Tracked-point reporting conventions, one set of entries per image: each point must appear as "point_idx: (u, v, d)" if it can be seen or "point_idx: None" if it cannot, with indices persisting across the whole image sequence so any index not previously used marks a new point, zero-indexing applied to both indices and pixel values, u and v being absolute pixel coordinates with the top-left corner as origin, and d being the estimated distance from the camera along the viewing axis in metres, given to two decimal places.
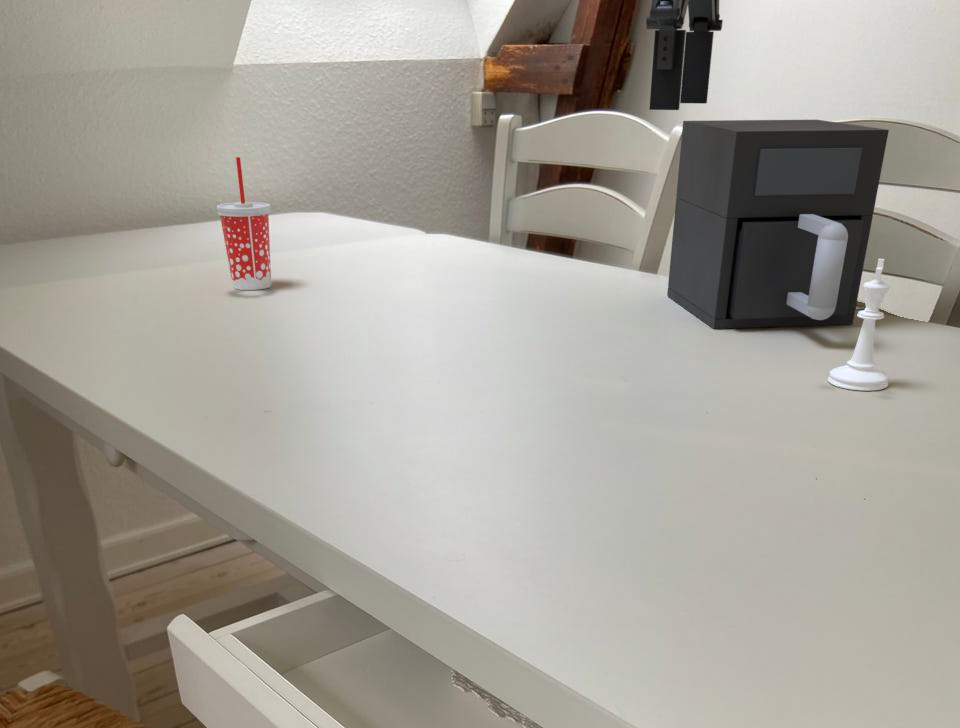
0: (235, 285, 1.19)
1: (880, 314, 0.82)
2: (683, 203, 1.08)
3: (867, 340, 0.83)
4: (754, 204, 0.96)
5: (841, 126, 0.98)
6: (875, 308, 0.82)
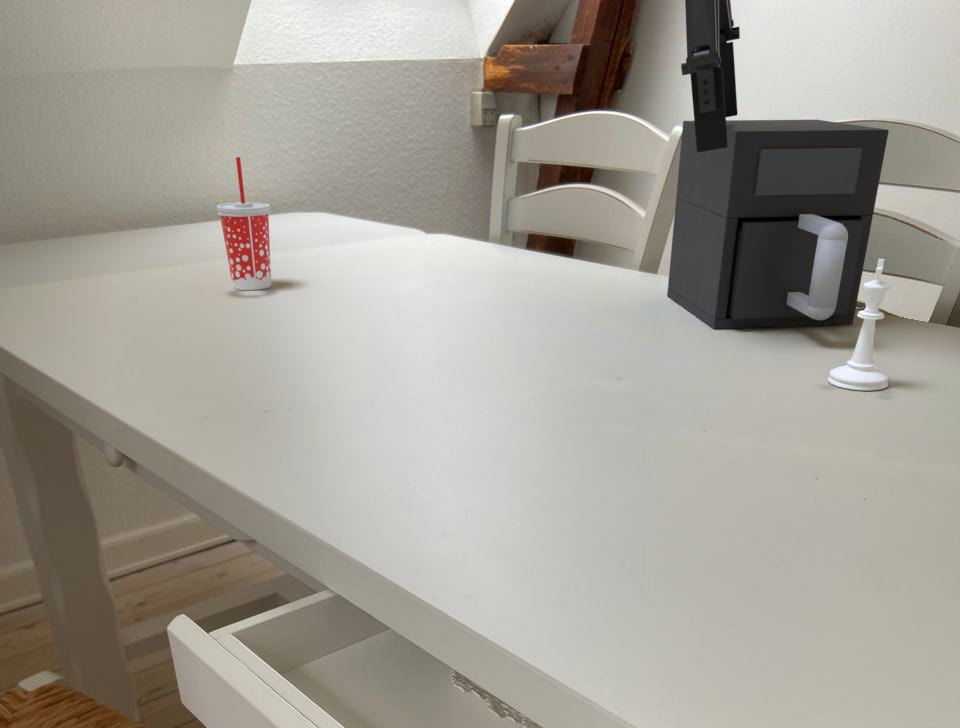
0: (235, 285, 1.19)
1: (880, 314, 0.82)
2: (683, 203, 1.08)
3: (867, 340, 0.83)
4: (754, 204, 0.96)
5: (841, 126, 0.98)
6: (875, 308, 0.82)
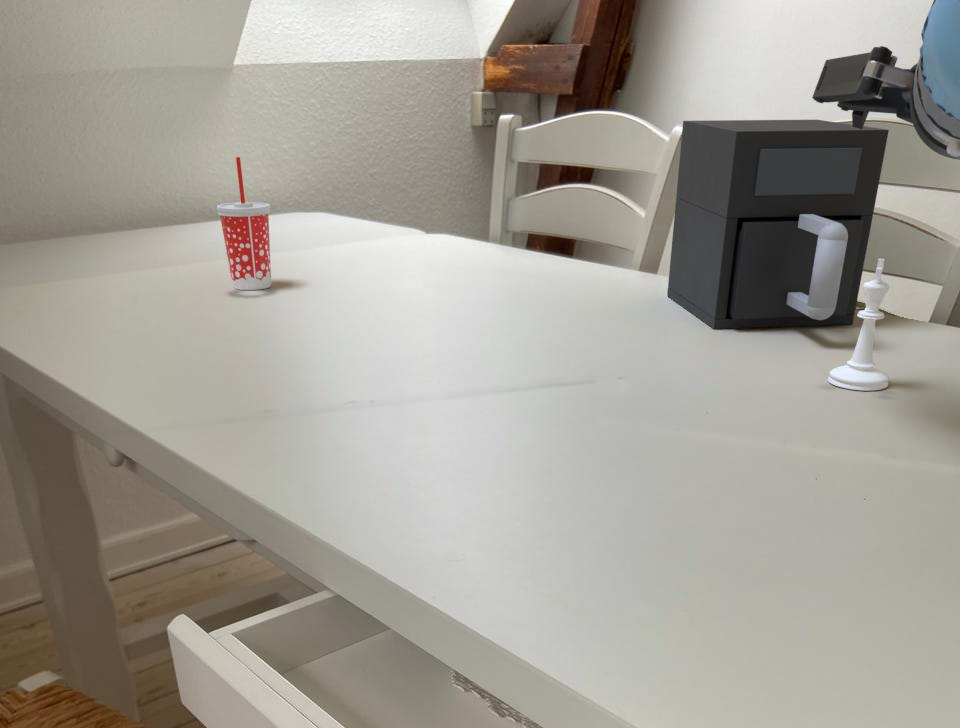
0: (235, 285, 1.19)
1: (880, 314, 0.82)
2: (683, 203, 1.08)
3: (867, 340, 0.83)
4: (754, 204, 0.96)
5: (841, 126, 0.98)
6: (875, 308, 0.82)
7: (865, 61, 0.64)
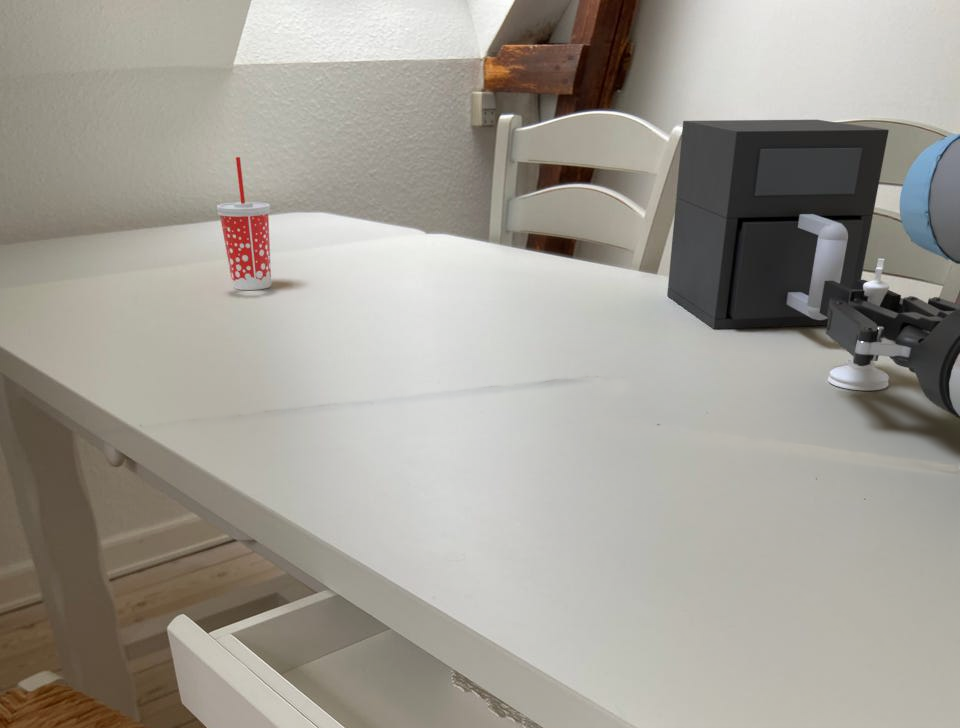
0: (235, 285, 1.19)
1: None
2: (683, 203, 1.08)
3: None
4: (754, 204, 0.96)
5: (841, 126, 0.98)
6: None
7: (857, 330, 0.74)
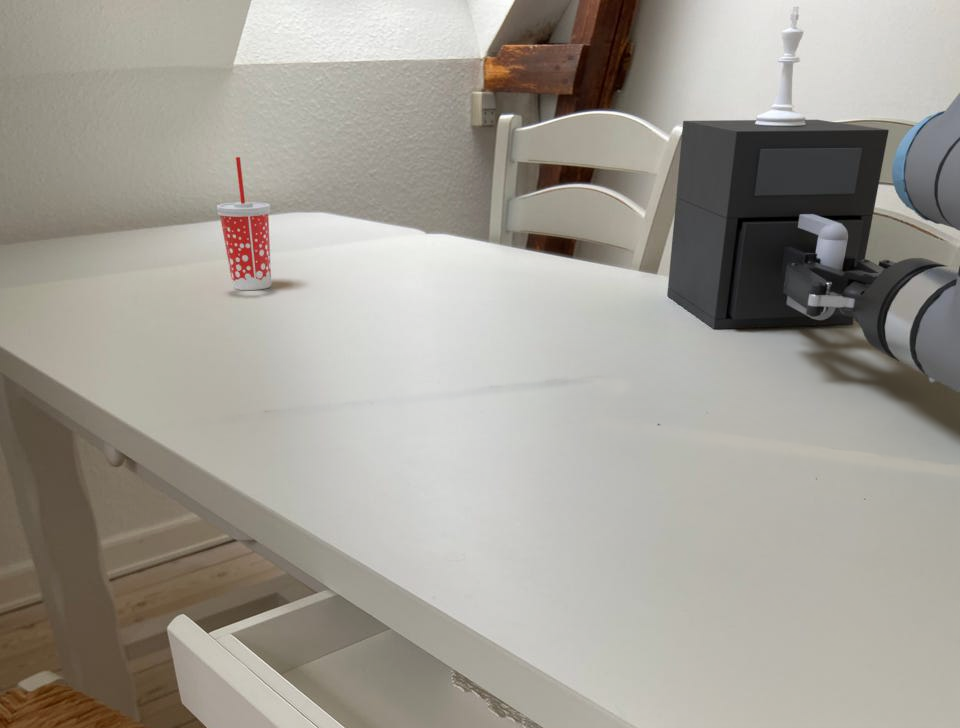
0: (235, 285, 1.19)
1: (796, 57, 0.97)
2: (683, 203, 1.08)
3: (786, 82, 0.98)
4: (754, 204, 0.96)
5: (841, 126, 0.98)
6: (792, 52, 0.97)
7: (809, 285, 0.84)
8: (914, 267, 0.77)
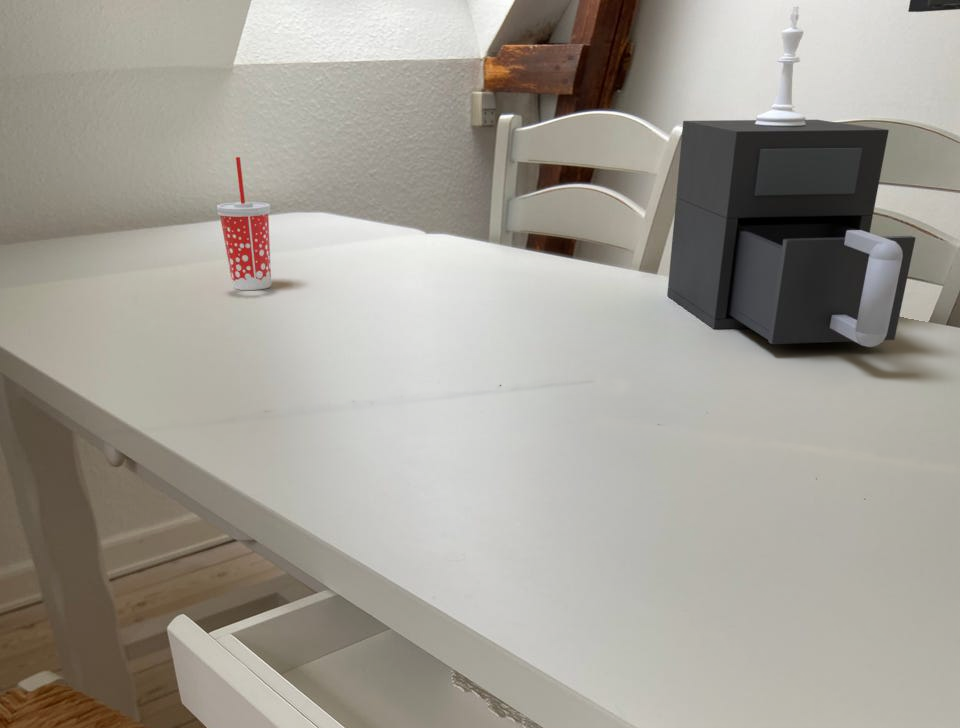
0: (235, 285, 1.19)
1: (796, 57, 0.97)
2: (683, 203, 1.08)
3: (786, 82, 0.98)
4: (754, 204, 0.96)
5: (841, 126, 0.98)
6: (792, 52, 0.97)
7: None
8: None
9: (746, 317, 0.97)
